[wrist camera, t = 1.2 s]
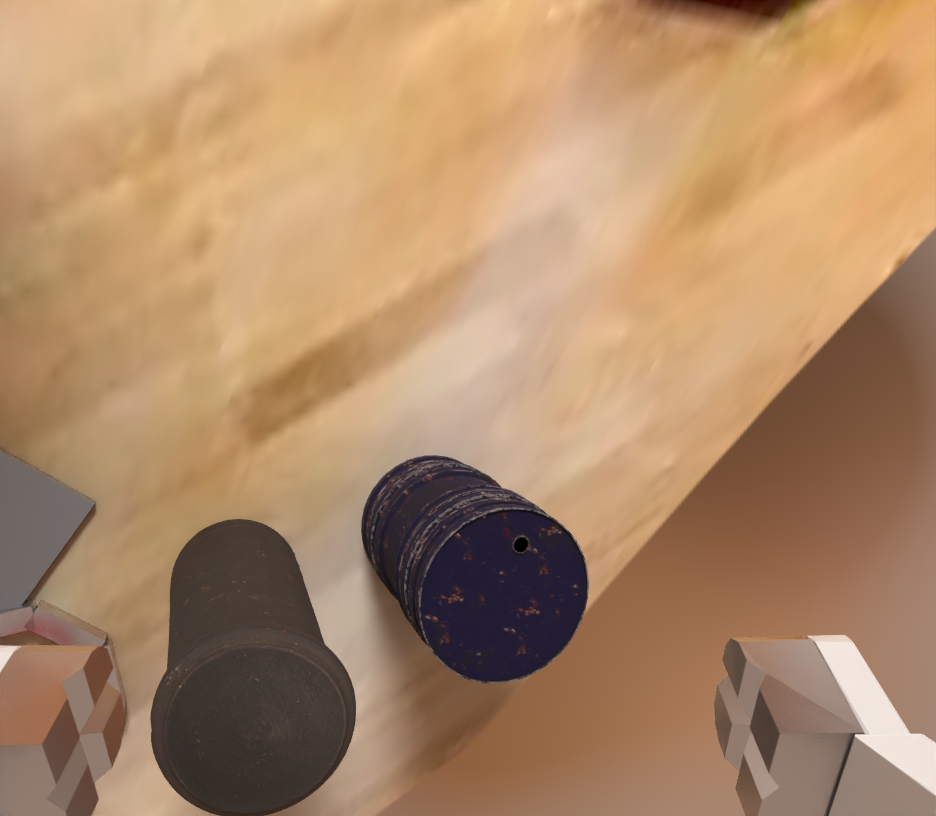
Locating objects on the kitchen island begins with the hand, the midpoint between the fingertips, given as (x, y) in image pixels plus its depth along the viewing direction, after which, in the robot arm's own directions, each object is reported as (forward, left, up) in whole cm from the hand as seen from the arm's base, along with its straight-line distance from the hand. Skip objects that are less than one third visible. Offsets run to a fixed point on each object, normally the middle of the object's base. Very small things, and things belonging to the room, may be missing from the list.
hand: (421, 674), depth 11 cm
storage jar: (+16, -1, -44) cm, 47 cm away
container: (+7, -11, -44) cm, 46 cm away
